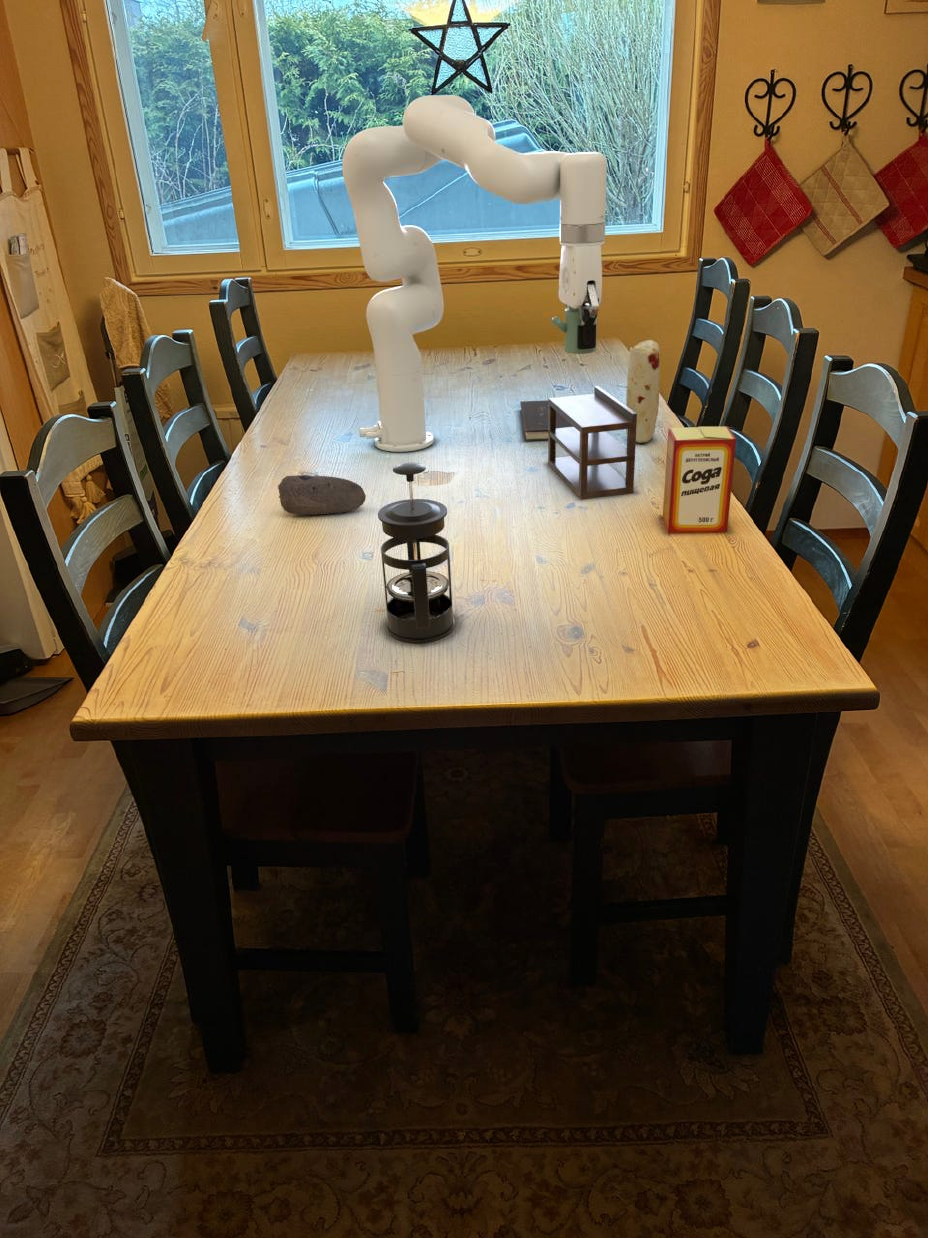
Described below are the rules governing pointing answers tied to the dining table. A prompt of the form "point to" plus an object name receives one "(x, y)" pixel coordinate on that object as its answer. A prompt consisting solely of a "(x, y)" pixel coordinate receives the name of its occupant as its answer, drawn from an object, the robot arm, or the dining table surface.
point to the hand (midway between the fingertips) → (580, 343)
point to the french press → (416, 567)
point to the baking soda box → (698, 479)
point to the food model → (644, 387)
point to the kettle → (572, 330)
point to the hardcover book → (538, 420)
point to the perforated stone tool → (319, 495)
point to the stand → (592, 443)
